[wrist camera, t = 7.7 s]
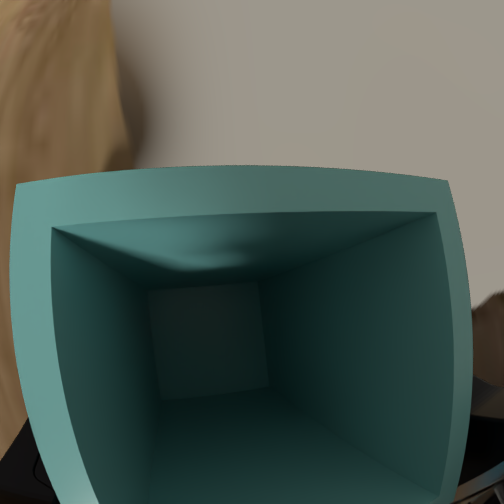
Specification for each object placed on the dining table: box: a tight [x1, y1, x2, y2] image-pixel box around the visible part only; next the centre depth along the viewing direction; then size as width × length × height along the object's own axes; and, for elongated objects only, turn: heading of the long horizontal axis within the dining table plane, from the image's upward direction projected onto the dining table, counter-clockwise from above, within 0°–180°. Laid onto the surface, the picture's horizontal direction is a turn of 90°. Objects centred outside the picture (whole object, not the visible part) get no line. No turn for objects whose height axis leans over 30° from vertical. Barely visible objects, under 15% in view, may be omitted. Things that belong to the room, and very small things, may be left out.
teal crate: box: [10, 165, 473, 504], centre depth 9 cm, size 7×7×12 cm
